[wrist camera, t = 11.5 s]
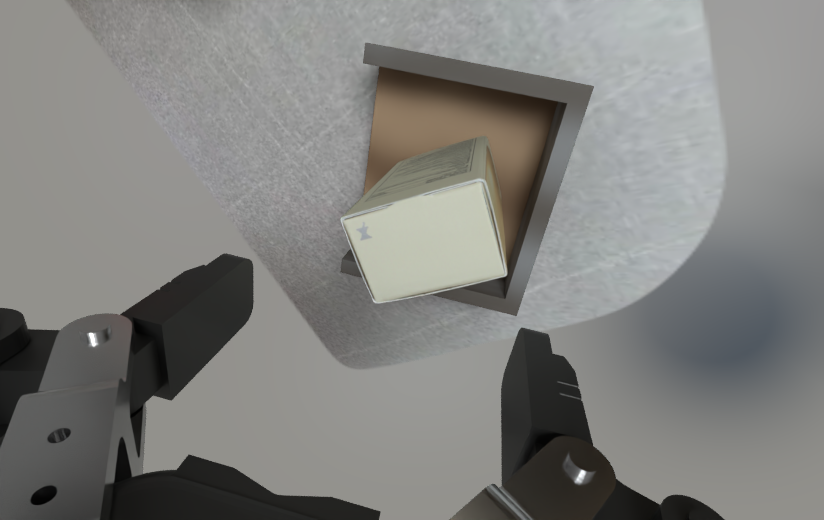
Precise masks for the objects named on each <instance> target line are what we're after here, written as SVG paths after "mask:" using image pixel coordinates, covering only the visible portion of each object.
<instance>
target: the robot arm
mask: <svg viewBox="0 0 824 520" xmlns="http://www.w3.org/2000/svg"><path fill="white" fill-rule="evenodd" d="M252 309H253V264H252V261H251V260H249V259H246V258H242V257H238V256H234V255H230V254H222V255H221V256H219V257H218V258H216V259H215V260H213V261H212V262H211V263H209V264H208V265H206V266H205V265H202V266H199V267H196V268H193V269H190V270H187V271H185V272H183V273H182V274H180V275H179V276H177V277H176V278H174V279H173V280H172V281H171V282H168V283H167V284H165V285H164V286H162V287H161V288H160V290H156V291H155V292H153V293H152V294H150V295H149V296H147V297H146V298H144V299H143V300H141V301H140V302H138V303H137V304H135V305H134V306H132V307H131V308H129V309H128V310H126V311H125V312H123V313H122V314H120V315H118V314H95V315H90V316H86V317H83V318H80V319H77V320H75V321H73V322H71V323H69V324H68V325H66V326H65V327H63V328H62V329H61V330H30V329H27V325H26V322H25V319H24V316H23V314H22V313H20V312H19V311H16V310H13V309H7V308H6V309H5V308H0V520H379V516H380V511H376V510H373V509H370V508H367V507H363V506H360V505H357V504H353V503H350V502H346V501H343V500H340V499H336V498H333V497H313V496H283V495H276V494H274V493H272V492H270V491H269V490H267V489H266V488H264V487H262V486H261V485H259V484H258V483H256V482H255V481H253V480H252V479H250V478H249V477H247V476H246V475H244V474H243V473H241V472H240V471H238V470H236V469H235V468H232V467H229V466H226V465H222V464H219V463H215V462H212V461H209V460H205V459H202V458H199V457H195V456H192V455H188V456H187V457H186V459H185V460H184V461H183V463H182V464H181V465H180V466H179V468H178V469H177V470H165V471H156V472H150V473H145V474H143V460H144V443H145V426H146V405H145V402H146V401H147V400H149V399H150V398H151V397H152V396H153V395H154V396H157V397H161V398H164V399H168V400H172V399H173V398H174V397H175V396H176V395H177V394H178V393H179V392H180V391H181V390H182V389H183V388H184V387H185V386H186V385H187V384H188V382H190V381H191V380H192V379H193V378H194V377H195V375H196V374H197V373H198V372H199V371H200V370H201V369H202V368H203V367H204V366H205V365H206V364H207V363H208V362H209V361H210V360H211V359H212V358H213V357H214V356H215V355H216V354H217V353H218V352H219V351H220V350H221V348H223V346H224V345H225V344H226V343H227V342H228V341H229V340H230V339H231V338H232V337H233V336H234V335H235V334H236V333H237V332H238V331H239V330H240V329H241V328H242V327H243V326H244V325H245V324H246V322H247V321H248V319H249V317H250V315H251V313H252ZM501 409H502V410H501V419H502V420H501V423H502V425H501V427H502V428H501V429H502V486H501V487H499V488H498V487H497V486H496V485H495V484H491V485H489V486H487V487H486V488H485V489H483V490H482V491H481V492H480V493H479V494H478V495H477V496H475V497H474V498H473V499H472V500H471V501H470V502H469V503H468V504H466V505H465V506H464V507H463V508H462V509H461V510H460V511H458V512H457V513H456V514H455V515H454V516H453V517H452V518H451V519H449V520H724V519H723V518H722V517H721V516H720V515H719V514H718V513H716V512H715V511H714V510H712V509H711V508H710V507H708V506H707V505H705V504H703V503H702V502H700V501H698V500H695V499H693V498H691V497H687V496H683V495H671V496H668V497H667V498H665V499H664V500H663V502H662V503H661V505H659V504H657V503H656V502H654V501H652V500H650V499H648V498H647V497H645V496H643V495H641V494H639V493H637V492H636V491H634V490H632V489H630V488H629V487H627V486H625V485H623V484H622V483H621V482H620V481H618V480H617V479H616V476H615V472H614V470H613V467H612V466H611V464H610V462H609V461H608V460H607V458H606V457H605V456H604V455H603V454H602V453H601V452H600V451H599V450H598V449H597V448H595V447H594V446H593V443H592V439H591V435H590V431H589V427H588V422H587V418H586V415H585V410H584V406H583V403H582V401H581V394H580V390H579V389H578V382H577V377H576V373H575V371H574V369H573V368H572V367H571V365H570V364H569V362H568V361H567V360H566V359H565V357H563V356H559V355H555V354H552V349H551V343H550V338H549V335H548V334H546V333H542V332H538V331H534V330H530V329H526V328H521V329H520V330H519V332H518V335H517V337H516V341H515V343H514V346H513V349H512V352H511V355H510V358H509V360H508V363H507V366H506V369H505V372H504V377H503V381H502V388H501Z"/></svg>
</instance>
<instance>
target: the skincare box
mask: <svg viewBox="0 0 824 520" xmlns="http://www.w3.org/2000/svg"><path fill="white" fill-rule="evenodd" d="M340 221H341V224H342V226H343V229H344V231H345V234H346V237H347V239H348V242H349V244H350V247H351V250H352V253H353V255H354V257H355V260H356V263H357V265H358V268H359V270H360V273H361V275H362V277H363V280H364V282H365V284H366V287H367V289H368V291H369V293H370V295H371V298H372V300H373V302H374V303H376V304H378V303H385V302H392V301H398V300H404V299H409V298H415V297H419V296H424V295H429V294H434V293H438V292H443V291H447V290H452V289H456V288H460V287H465V286H469V285H473V284H477V283H481V282H486V281H489V280H493V279H497V278H501V277H505V276H507V261H506V249H505V236H504V224H503V211H502V199H501V192H500V187H499V183H498V178H497V174H496V169H495V165H494V161H493V157H492V153H491V149H490V145H489V141H488V138H487V137H486V136H479V137H476V138H472V139H468V140H465V141H461V142H458V143H454V144H451V145H448V146H445V147H441V148H438V149H435V150H432V151H429V152H426V153H423V154H420V155H417V156H414V157H411V158H408V159H405V160H403V161H400V162H398V163H397V164H396V165H395V166H394V167H393V168H392V169H391V170H390V171H389V172H388V173H387V174H386V175H385V176H384V177H383V178H382V179H381V180H379V181H378V182H377V183H376V184H375V185H374V186H373V187H372V188H371V189H370V190H369V191H368V192H367V193H366V194H365V195H364V196H363V197H362V198H361V199H360V200H359V201H358V202H357V203H356V204H355V205H354V206H353V207H352V208H351V209H350V210H349V211H348V212H347V213H346V214H345V215H343V216H342V217H341V220H340Z"/></svg>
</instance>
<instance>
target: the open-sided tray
mask: <svg viewBox="0 0 824 520" xmlns="http://www.w3.org/2000/svg"><path fill="white" fill-rule="evenodd" d="M363 63H365V64H370V65H375V66H380V67H379V75H378V83H377V91H376V99H375V107H374V115H373V123H372V131H371V139H370V147H369V155H368V164H367V172H366V180H365V188H364V195H365V194H366V193H367V192H368V191H369V190H370V189H371V188H372V187H373V186H374V185H375V184H376V183H377V182H378V181H379V180H381V179H382V178H383V177H384V176H385V175H386V174H387V173H388V172H389V171H390V170H391V169H392V168H393V167H394V166H395V165H396V164H397V163H398V162H400V161H403V160H405V159H408V158H411V157H414V156H417V155H420V154H423V153H426V152H429V151H432V150H435V149H438V148H441V147H445V146H448V145H451V144H454V143H458V142H461V141H465V140H468V139H472V138H476V137H479V136H486V137H487V138H488V141H489V145H490V149H491V153H492V157H493V161H494V165H495V169H496V174H497V178H498V183H499V187H500V192H501V199H502V211H503V224H504V236H505V249H506V261H507V276H505V277H501V278H497V279H493V280H489V281H486V282H481V283H477V284H473V285H469V286H465V287H460V288H456V289H452V290H447V291H443V292H438V293H434V294H430V295H434V296H438V297H442V298H447V299H451V300H455V301H459V302H463V303H467V304H471V305H475V306H479V307H483V308H487V309H491V310H495V311H499V312H503V313H507V314H511V315H515V316H517V313H518V310H519V307H520V304H521V301H522V298H523V295H524V292H525V289H526V286H527V283H528V280H529V277H530V274H531V271H532V268H533V265H534V262H535V259H536V256H537V254H538V251H539V248H540V245H541V242H542V239H543V236H544V233H545V230H546V227H547V224H548V221H549V218H550V215H551V212H552V209H553V206H554V203H555V200H556V197H557V194H558V191H559V188H560V186H561V183H562V180H563V177H564V174H565V171H566V168H567V165H568V162H569V159H570V156H571V153H572V150H573V147H574V144H575V141H576V138H577V135H578V132H579V129H580V126H581V123H582V120H583V117H584V115H585V112H586V109H587V106H588V103H589V100H590V97H591V94H592V91H593V88H594V86H590V85H585V84H580V83H575V82H570V81H565V80H559V79H554V78H549V77H544V76H539V75H533V74H528V73H523V72H518V71H512V70H507V69H502V68H497V67H491V66H486V65H481V64H476V63H471V62H465V61H460V60H455V59H450V58H444V57H439V56H434V55H429V54H423V53H418V52H413V51H408V50H403V49H397V48H392V47H387V46H381V45H376V44H370V43H365V50H364V60H363ZM341 272H342V273H346V274H350V275H354V276H358V277H362V275H361V273H360V270H359V268H358V265H357V263H356V260H355V257H354V255H353V253H352V250H351V249H350V250H349V251H348V253H347V254H346V255H345V256H344V257H343V259H342V264H341ZM362 278H363V277H362Z"/></svg>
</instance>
